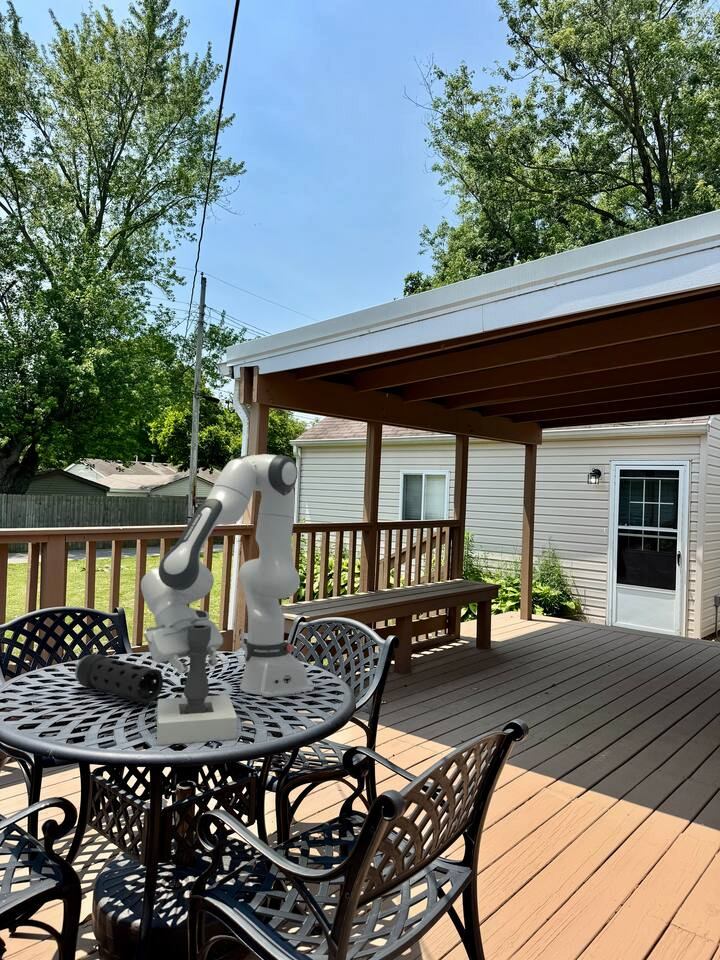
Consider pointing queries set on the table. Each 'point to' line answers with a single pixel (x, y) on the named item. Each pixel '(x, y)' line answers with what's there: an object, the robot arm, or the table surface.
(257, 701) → the table surface
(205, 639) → the candle holder
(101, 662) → the muzzle brake
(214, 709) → the socket block
